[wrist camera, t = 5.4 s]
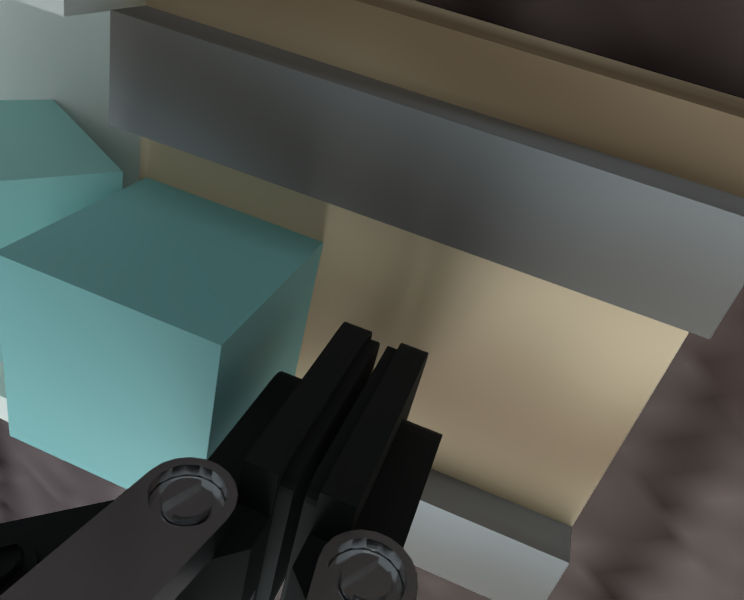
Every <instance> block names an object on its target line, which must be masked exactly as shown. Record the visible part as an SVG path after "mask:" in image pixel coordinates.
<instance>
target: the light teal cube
mask: <svg viewBox="0 0 744 600" xmlns="http://www.w3.org/2000/svg"><path fill="white" fill-rule="evenodd" d="M122 186H123V171H122V170H121V169H120V168H119V167H118V166H117V165H116V164H115V163H114V162H113V161H112V160H111V159H110V158H109V157H108V156H107V155H106V154H105V153H104V152H103V150H102V149H101V148H100V147H99V146H98V145H97V144H96V143H95V142H94V141H93V140H92V139H91V138H90V137H89V136H88V135H87V134H86V133H85V132H84V131H83V130H82V129H81V128H80V127H79V126H78V125H77V123H76V122H75V121H74V120H73V119H72V118H71V117H70V116H69V115H68V114H67V113H66V112H65V111H64V110H63V109H62V108H61V107H60V106H59V105H58V104H57V103H56V102H55V101H54V100H0V249H1V248H3V247H5V246H7V245H9V244H11V243H13V242H15V241H17V240H19V239H22V238H24V237H26V236H28V235H30V234H32V233H34V232H36V231H38V230H40V229H42V228H44V227H46V226H48V225H50V224H52V223H54V222H56V221H58V220H60V219H62V218H64V217H66V216H68V215H70V214H72V213H75V212H77V211H79V210H81V209H83V208H85V207H87V206H89V205H91V204H93V203H95V202H97V201H99V200H101V199H103V198H105V197H107V196H109V195H111V194H113V193H115V192H117V191H119V190H121V189H122ZM1 361H3V356H2V345H1V334H0V362H1Z"/></svg>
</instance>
